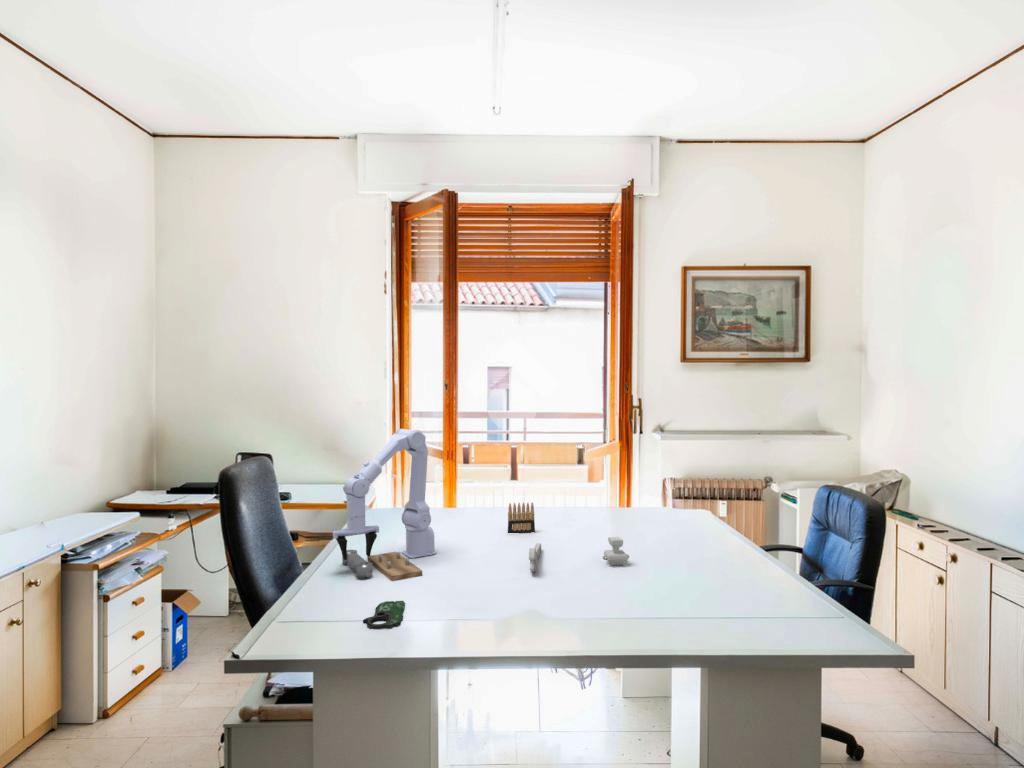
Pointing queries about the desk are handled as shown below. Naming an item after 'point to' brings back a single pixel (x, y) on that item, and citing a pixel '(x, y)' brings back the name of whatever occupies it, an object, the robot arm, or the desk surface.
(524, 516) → the ammunition clip
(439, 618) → the desk surface
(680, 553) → the desk surface
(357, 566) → the grey elongated piece
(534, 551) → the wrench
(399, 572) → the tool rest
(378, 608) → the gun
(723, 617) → the desk surface
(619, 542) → the stamp
